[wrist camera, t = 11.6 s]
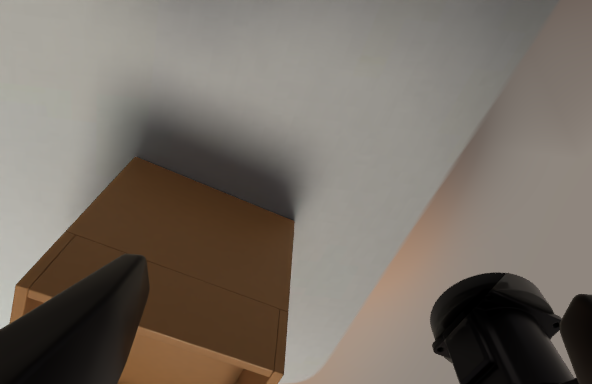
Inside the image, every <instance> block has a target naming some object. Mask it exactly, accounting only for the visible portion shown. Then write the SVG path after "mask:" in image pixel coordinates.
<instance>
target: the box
mask: <svg viewBox="0 0 592 384" xmlns="http://www.w3.org/2000/svg"><path fill="white" fill-rule="evenodd" d="M294 223H295V222H294V221H293V220H290V219H288V218H285V217H283V216H280V215H278V214H275V213H273V212H270V211H268V210H266V209H263V208H261V207H258V206H256V205H253V204H251V203H248V202H246V201H243V200H241V199H239V198H236V197H234V196H231V195H229V194H226V193H224V192H221V191H219V190H216V189H214V188H212V187H209V186H207V185H204V184H202V183H199V182H197V181H194V180H192V179H189V178H187V177H185V176H182V175H180V174H177V173H175V172H172V171H170V170H167V169H165V168H162V167H160V166H158V165H155V164H153V163H150V162H148V161H145V160H143V159H140V158H138V157H134V158H133V159H132V160H131V162H130V163H129V164H128V165H127V166H126V167H125V168H124V169H123V170H122V171H121V172H120V173H119V174H118V176H117V177H116V178H115V179H114V180H113V181H112V182H111V183H110V184H109V185H108V186H107V187H106V188H105V190H104V191H103V192H102V193H101V194H100V195H99V196H98V197H97V198H96V199H95V200H94V201H93V202H92V204H91V205H90V206H89V207H88V208H87V209H86V210H85V211H84V212H83V213H82V214H81V215H80V216H79V218H78V219H77V220H76V221H75V222H74V223H73V224H72V225H71V226H70V227H69V228H68V229H67V230H66V232H65V233H64V234H63V235H62V236H61V237H60V238H59V239H58V240H57V241H56V242H55V243H54V244H53V245H52V246H51V248H50V249H49V250H48V251H47V252H46V253H45V254H44V255H43V256H42V257H41V258H40V259H39V261H38V262H37V263H36V264H35V265H34V266H33V267H32V268H31V269H30V270H29V271H28V272H27V273H26V275H25V276H24V277H23V278H22V279H21V280H20V281H19V282H18V283H17V284H16V287H15V293H14V299H13V306H12V312H11V318H10V323H12V322H13V321H15V320H17V319H18V318H20V317H22V316H23V315H25V314H26V313H28V312H30V311H31V310H33V309H35V308H36V307H38V306H40V305H41V304H43V303H44V302H46V301H48V300H49V299H51V298H53V297H54V296H56V295H57V294H59V293H61V292H62V291H64V290H66V289H67V288H69V287H71V286H72V285H74V284H75V283H77V282H79V281H80V280H82V279H84V278H85V277H87V276H89V275H90V274H92V273H93V272H95V271H97V270H98V269H100V268H102V267H103V266H105V265H106V264H108V263H110V262H111V261H113V260H115V259H116V258H118V257H120V256H121V255H123V254H138V255H143V256H144V257H145V258H146V260H147V268H148V276H149V285H150V289H149V295H148V299H147V302H146V305H145V308H144V311H143V314H142V317H141V320H140V323H139V326H138V329H137V332H136V336H135V339H134V342H133V345H132V348H131V351H130V354H129V357H128V360H127V362H126V365H125V367H124V370H123V372H122V374H121V377H120V379H119V381H118V383H117V384H278V382H279V381H280V379H281V378H282V376H283V375H284V365H285V351H286V336H287V322H288V307H289V293H290V279H291V265H292V251H293V237H294Z"/></svg>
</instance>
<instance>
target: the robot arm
mask: <svg viewBox="0 0 592 384" xmlns="http://www.w3.org/2000/svg"><path fill="white" fill-rule="evenodd" d="M149 289H150V285H149V276H148V268H147V260H146V258H145V257H144V256H143V255H138V254H123V255H121V256H120V257H118V258H116V259H115V260H113V261H111V262H110V263H108V264H106V265H105V266H103V267H102V268H100V269H98V270H97V271H95V272H93V273H92V274H90V275H89V276H87V277H85V278H84V279H82V280H80V281H79V282H77V283H75V284H74V285H72V286H71V287H69V288H67V289H66V290H64V291H62V292H61V293H59V294H57V295H56V296H54V297H53V298H51V299H49V300H48V301H46V302H44V303H43V304H41V305H40V306H38V307H36V308H35V309H33V310H31V311H30V312H28V313H26V314H25V315H23V316H22V317H20V318H18V319H17V320H15V321H13V322H12V323H10V324H8V325H7V326H5V327H4V328H2V329H0V384H117V383H118V381H119V379H120V377H121V374H122V372H123V370H124V367H125V365H126V362H127V360H128V357H129V354H130V351H131V348H132V345H133V342H134V339H135V336H136V332H137V329H138V326H139V323H140V320H141V317H142V314H143V311H144V308H145V305H146V302H147V299H148V295H149ZM487 295H489V296H487ZM559 330H560V333H561V336H562V339H563V342H564V344H565V347H566V350H567V352H568V355H569V358H570V361H571V363H572V366H573V369H574V371H575V374H576V377H577V378H574V377H573V375H572V374H571V372H570V371H569V369H568V367H567V366H566V364H565V363H564V361H563V360H562V358H561V356H560V355H559V354H558V352H557V350H556V348H555V347H554V345H553V344H552V342H551V341H550V338H551V337H552V336H554V335H555V334H556V333H557V332H558V331H559ZM432 348H433V351H434V352H435V353H436V354H438V355H441V356H444V357H446V358H449V359H451V360H452V363H453V366H454V369H455V371H456V374H457V377H458V380H459V383H460V384H592V295H587V294H579V295H576V296H575V297H574V298H573V300H572V302H571V303H570V305H569V307H568V309H567V310H566V313H565V314H564V316H563V318H562V319H561V317H559V316H557V315H555V314H553V313H550V312H548V311H545V310H543V309H541V308H538V307H536V306H533V305H531V304H528V303H526V302H524V301H521V300H519V299H516V298H514V297H512V296H509V295H507V294H504V293H502V292H500V291H497V290H495V289H492V288H485V289H483V290H481V291H480V292H479V293H478V294H477V295H476V297H475V298H474V299H473V300H472V301H471V302H470V303H469V304H468V305H467V306H466V307H465V309H464V310H463V311H462V312H461V313H460V314H459V315H458V316H457V317H456V318H455V319H454V321H453V322H452V323H451V324H450V325H449V326H448V327H447V328H446V329H445V330H444V331H443V333H442V334H441V335H440V336H439V337H438V338H437V339H436V340H435V341H434V342H433V344H432Z"/></svg>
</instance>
